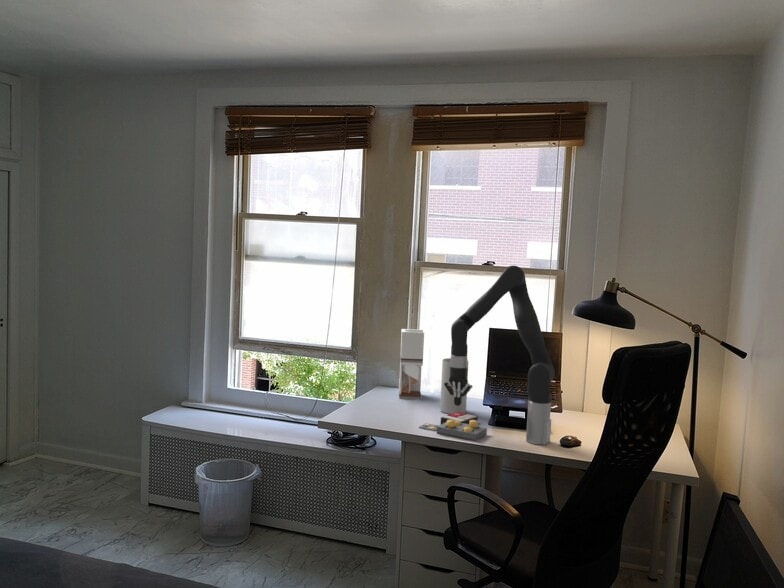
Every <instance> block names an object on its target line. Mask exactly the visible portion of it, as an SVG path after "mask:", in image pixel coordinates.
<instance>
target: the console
mask: <svg viewBox="0 0 784 588" xmlns="http://www.w3.org/2000/svg"><path fill="white" fill-rule="evenodd" d="M464 427H469V424H465V423H461V424H460V426H456V425H455V428H454V429H450V428H447V422H445V423H443V424H441V425H440V424H439V425H438V426H437V431H436V434H438V435H443V436H448V437H453V438H456V439H457V438H458V439H462V440H466V441H471V442H477V441H479V440H480V439H482V438H484V437H485V436H487V434H488V427H485V426H480V425H478V429H472V432H466V431H464Z"/></svg>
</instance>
